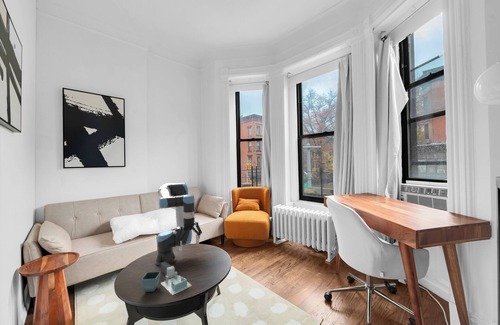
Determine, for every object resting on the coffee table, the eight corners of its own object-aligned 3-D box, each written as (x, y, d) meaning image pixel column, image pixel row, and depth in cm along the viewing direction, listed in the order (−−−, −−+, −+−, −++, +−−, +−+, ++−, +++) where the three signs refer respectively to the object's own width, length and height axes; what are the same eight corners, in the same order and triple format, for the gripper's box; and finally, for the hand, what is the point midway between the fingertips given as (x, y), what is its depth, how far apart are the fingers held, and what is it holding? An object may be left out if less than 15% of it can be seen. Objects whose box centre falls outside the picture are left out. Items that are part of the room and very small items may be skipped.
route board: (160, 283, 136) (160, 277, 136) (179, 275, 146) (179, 269, 146) (172, 295, 125) (172, 288, 125) (191, 285, 134) (191, 279, 134)
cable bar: (160, 271, 152) (160, 262, 152) (165, 269, 155) (165, 260, 155) (168, 278, 142) (168, 269, 142) (174, 276, 145) (174, 267, 145)
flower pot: (147, 285, 135) (146, 271, 135) (161, 284, 135) (160, 271, 135) (141, 294, 126) (140, 279, 126) (156, 293, 127) (155, 278, 127)
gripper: (175, 222, 134) (175, 255, 134) (206, 214, 152) (206, 243, 153) (169, 220, 139) (169, 251, 139) (200, 212, 157) (200, 240, 158)
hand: (189, 247), depth 146 cm, fingers open, 13 cm apart
